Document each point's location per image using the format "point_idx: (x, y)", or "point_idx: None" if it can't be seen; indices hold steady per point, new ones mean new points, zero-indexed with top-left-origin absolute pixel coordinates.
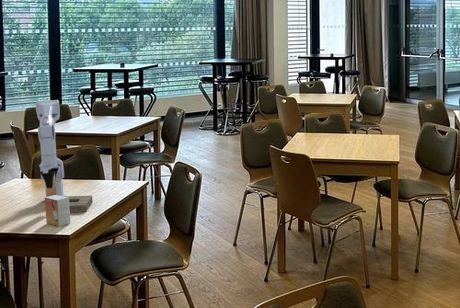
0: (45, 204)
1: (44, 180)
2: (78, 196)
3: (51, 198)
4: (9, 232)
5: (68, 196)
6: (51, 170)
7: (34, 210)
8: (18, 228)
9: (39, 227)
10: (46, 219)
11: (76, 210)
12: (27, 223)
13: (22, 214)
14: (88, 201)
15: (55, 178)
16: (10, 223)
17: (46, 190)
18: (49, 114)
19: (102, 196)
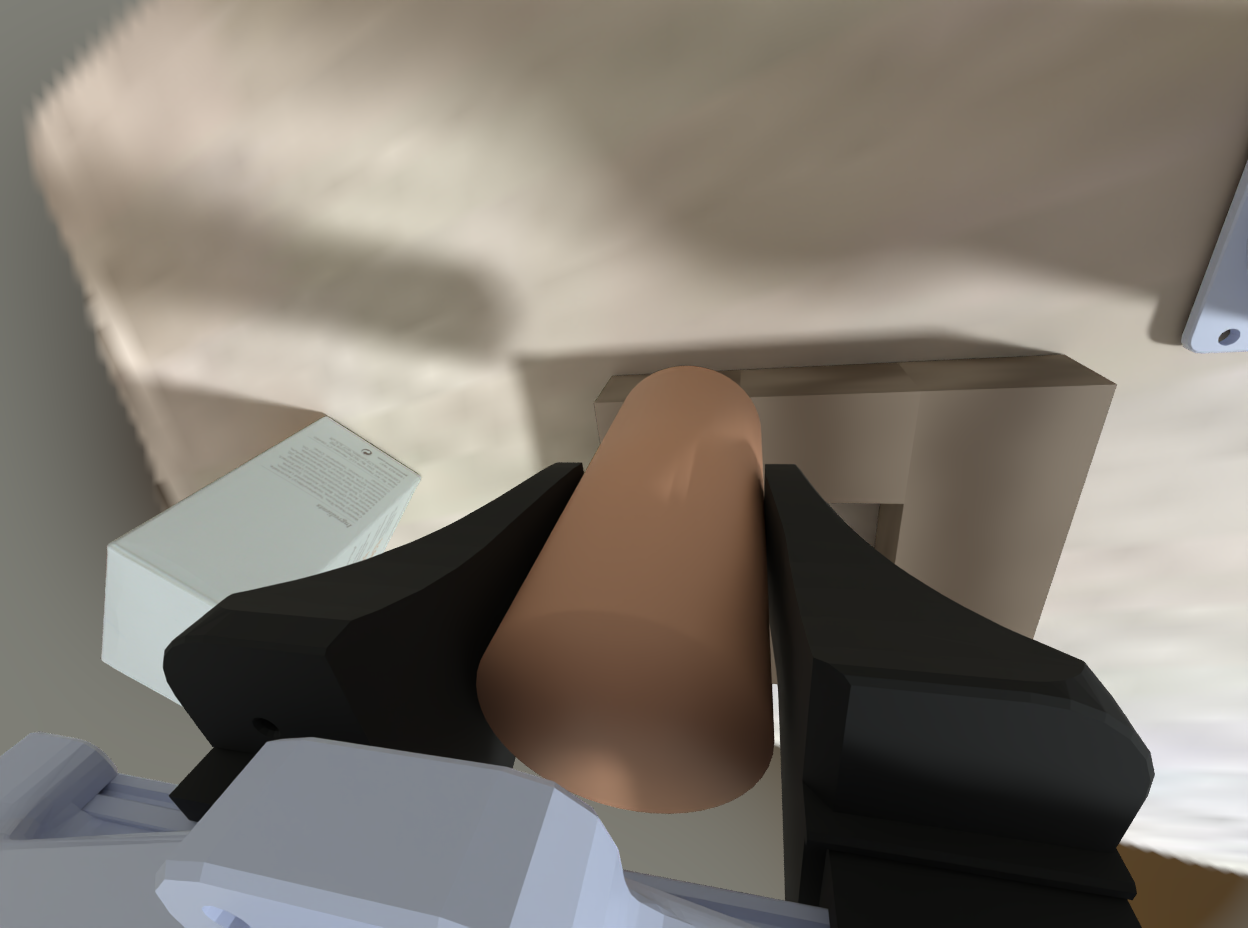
0: (182, 502)
1: (447, 527)
2: (1012, 598)
3: (112, 612)
4: (42, 180)
5: (1066, 496)
6: (798, 822)
7: (753, 110)
8: (149, 218)
9: (236, 388)
10: (301, 432)
11: None
12: (285, 245)
13: (566, 8)
14: (774, 680)
15: (775, 665)
16: (226, 38)
17: (623, 413)
18: None
19: (1216, 709)
